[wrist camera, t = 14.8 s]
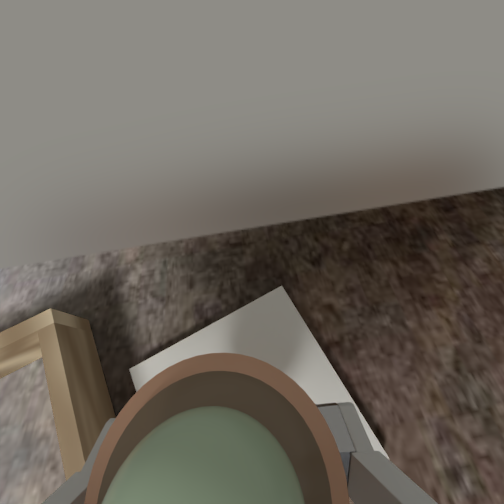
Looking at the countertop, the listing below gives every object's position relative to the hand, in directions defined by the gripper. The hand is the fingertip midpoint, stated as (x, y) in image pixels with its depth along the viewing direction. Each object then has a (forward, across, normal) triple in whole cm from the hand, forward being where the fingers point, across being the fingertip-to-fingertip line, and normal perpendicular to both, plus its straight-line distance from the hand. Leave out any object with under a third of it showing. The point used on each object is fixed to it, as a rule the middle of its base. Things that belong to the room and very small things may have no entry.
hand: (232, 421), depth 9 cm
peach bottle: (+3, 0, +4) cm, 5 cm away
